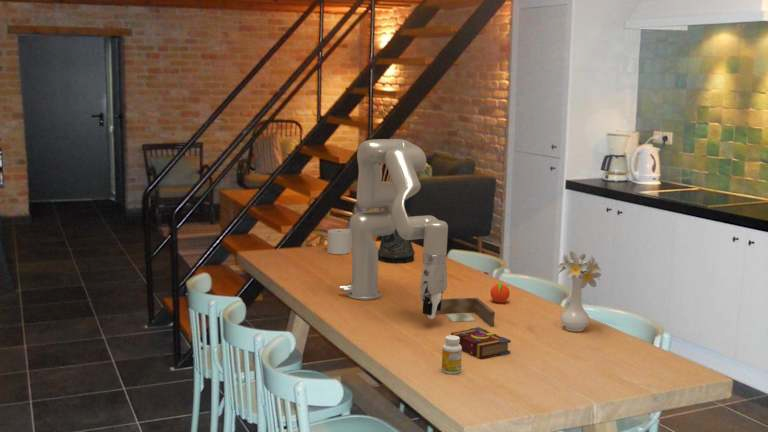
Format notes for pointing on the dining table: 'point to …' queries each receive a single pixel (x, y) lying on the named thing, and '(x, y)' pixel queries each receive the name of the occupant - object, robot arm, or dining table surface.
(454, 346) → the supplement bottle
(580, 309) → the flower vase
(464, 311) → the corner fence
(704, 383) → the dining table surface
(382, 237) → the beer stein
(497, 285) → the clementine
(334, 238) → the toilet tissue
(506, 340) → the decorative book
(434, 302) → the lightbulb
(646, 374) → the dining table surface
